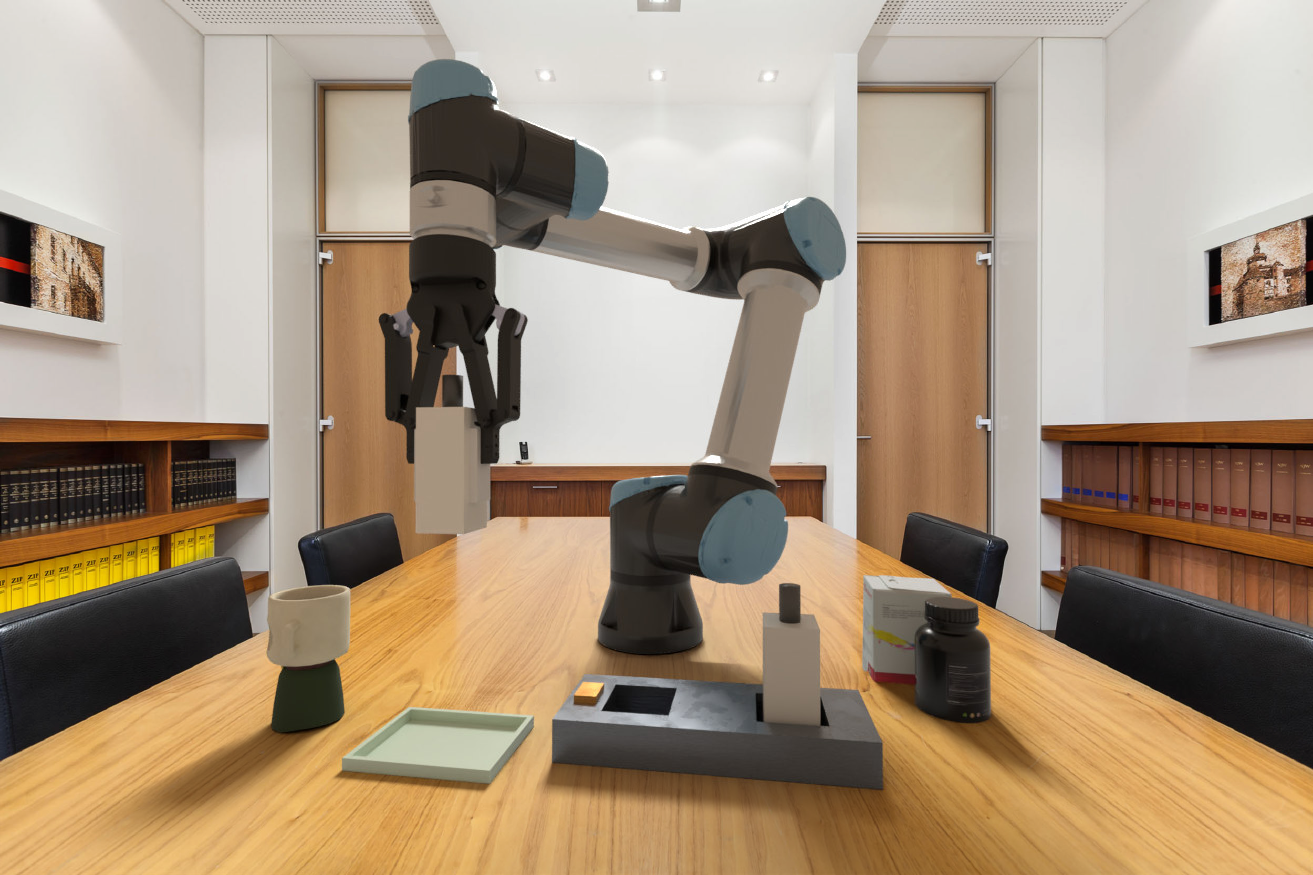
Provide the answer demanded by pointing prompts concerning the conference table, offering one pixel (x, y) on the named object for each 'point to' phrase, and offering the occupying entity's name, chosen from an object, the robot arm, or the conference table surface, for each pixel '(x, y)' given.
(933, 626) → the supplement bottle
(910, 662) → the ink box
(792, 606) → the twin plug
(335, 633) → the character mug
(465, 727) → the tray
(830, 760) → the power strip
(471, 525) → the plug
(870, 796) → the conference table surface
